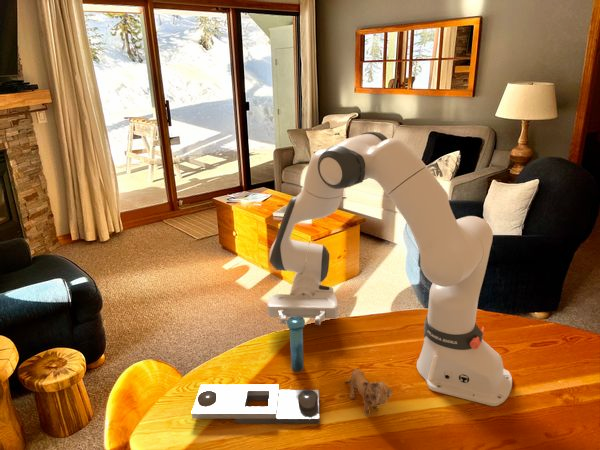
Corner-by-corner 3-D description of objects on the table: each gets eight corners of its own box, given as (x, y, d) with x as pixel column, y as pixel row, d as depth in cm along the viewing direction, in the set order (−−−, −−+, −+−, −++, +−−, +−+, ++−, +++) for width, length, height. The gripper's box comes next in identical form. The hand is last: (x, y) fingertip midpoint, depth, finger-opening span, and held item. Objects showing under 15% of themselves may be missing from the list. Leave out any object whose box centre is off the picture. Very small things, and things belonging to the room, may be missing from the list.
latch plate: (318, 394, 110) (318, 383, 108) (319, 423, 101) (319, 411, 100) (202, 395, 111) (200, 383, 109) (193, 423, 102) (191, 411, 101)
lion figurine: (394, 416, 103) (396, 384, 99) (376, 427, 100) (378, 394, 97) (352, 380, 114) (353, 350, 111) (335, 388, 112) (335, 358, 108)
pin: (309, 365, 120) (308, 319, 115) (299, 375, 117) (297, 328, 111) (295, 359, 122) (293, 314, 117) (285, 368, 119) (283, 322, 114)
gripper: (269, 286, 137) (261, 311, 125) (338, 287, 135) (337, 313, 123) (270, 304, 140) (263, 330, 127) (338, 306, 138) (337, 333, 125)
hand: (300, 322), depth 125 cm, fingers open, 8 cm apart
